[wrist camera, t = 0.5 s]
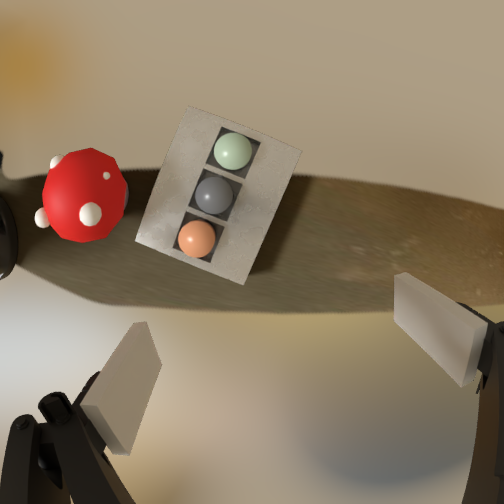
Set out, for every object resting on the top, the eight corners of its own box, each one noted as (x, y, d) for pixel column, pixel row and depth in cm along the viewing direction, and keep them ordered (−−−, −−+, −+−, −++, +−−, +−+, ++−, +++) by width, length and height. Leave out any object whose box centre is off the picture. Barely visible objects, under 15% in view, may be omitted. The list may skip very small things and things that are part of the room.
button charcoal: (192, 204, 33) (189, 205, 31) (206, 172, 32) (203, 171, 30) (225, 217, 33) (223, 219, 31) (238, 185, 33) (238, 185, 30)
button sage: (210, 162, 32) (208, 161, 30) (224, 131, 31) (223, 127, 29) (242, 175, 32) (242, 174, 30) (256, 144, 32) (257, 141, 30)
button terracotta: (177, 245, 34) (173, 249, 32) (189, 214, 33) (185, 216, 31) (208, 258, 34) (206, 263, 32) (221, 227, 34) (219, 229, 31)
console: (144, 236, 36) (135, 240, 33) (193, 112, 33) (188, 105, 30) (243, 276, 38) (243, 285, 35) (296, 154, 35) (302, 151, 31)
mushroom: (63, 197, 35) (9, 205, 23) (109, 136, 33) (60, 121, 21) (110, 248, 36) (65, 274, 25) (161, 188, 35) (125, 190, 23)
